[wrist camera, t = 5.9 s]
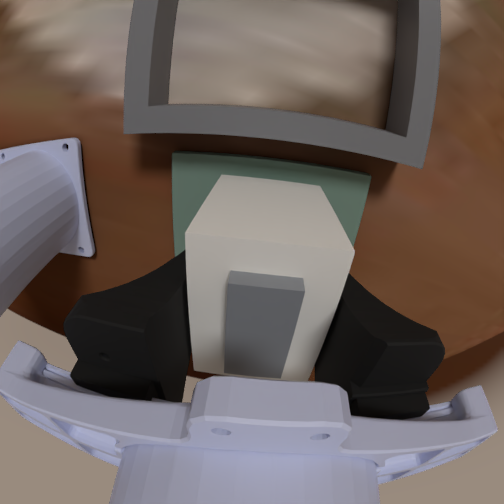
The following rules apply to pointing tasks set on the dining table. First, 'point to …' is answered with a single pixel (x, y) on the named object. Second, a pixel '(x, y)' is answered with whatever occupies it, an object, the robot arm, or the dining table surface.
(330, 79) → the dining table surface
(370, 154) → the grey square frame
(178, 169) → the rubber mat
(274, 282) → the block
